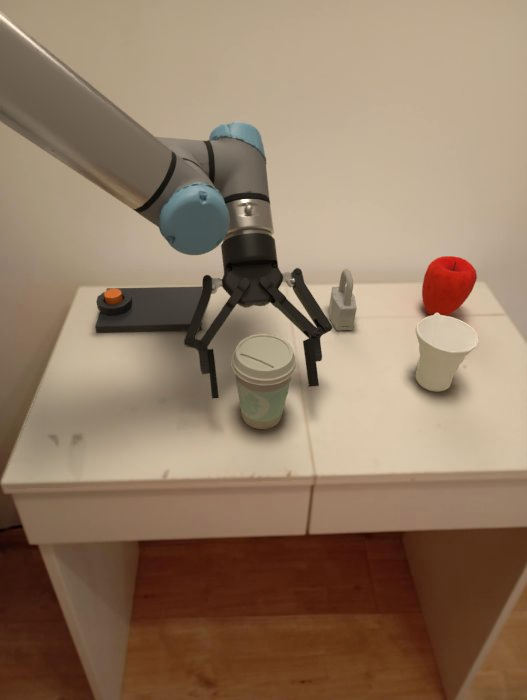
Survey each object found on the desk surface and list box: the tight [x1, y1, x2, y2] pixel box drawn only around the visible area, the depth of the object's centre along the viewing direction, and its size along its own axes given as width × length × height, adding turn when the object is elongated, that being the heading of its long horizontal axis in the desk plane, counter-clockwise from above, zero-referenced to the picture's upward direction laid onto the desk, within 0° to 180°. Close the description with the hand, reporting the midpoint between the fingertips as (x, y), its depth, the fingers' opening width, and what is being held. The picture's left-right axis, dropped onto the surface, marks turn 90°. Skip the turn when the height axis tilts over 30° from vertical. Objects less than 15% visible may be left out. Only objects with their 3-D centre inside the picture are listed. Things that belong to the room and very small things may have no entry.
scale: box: [95, 286, 203, 334], centre depth 86 cm, size 18×12×3 cm, turn 95°
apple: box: [421, 255, 478, 317], centre depth 86 cm, size 9×9×11 cm
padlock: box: [328, 268, 357, 331], centre depth 83 cm, size 7×4×10 cm, turn 5°
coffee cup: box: [230, 333, 297, 430], centre depth 64 cm, size 8×9×12 cm
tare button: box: [104, 289, 123, 304], centre depth 84 cm, size 3×3×2 cm
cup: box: [415, 313, 480, 393], centre depth 72 cm, size 9×9×10 cm
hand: (265, 392), depth 64 cm, fingers open, 13 cm apart
